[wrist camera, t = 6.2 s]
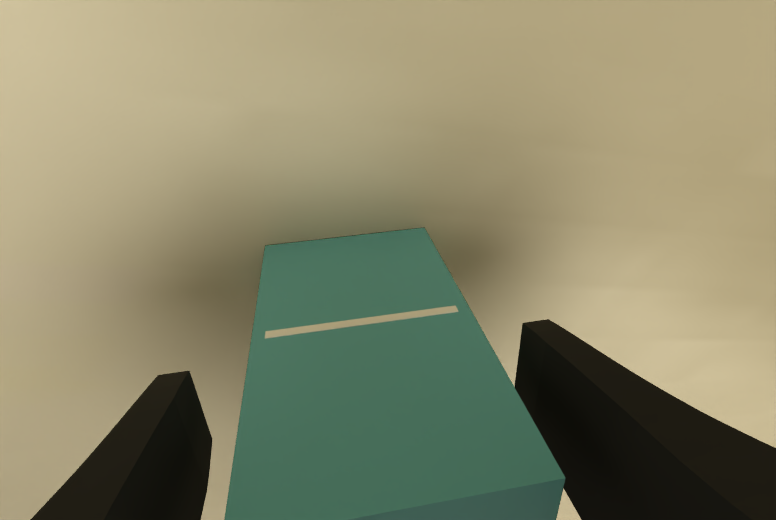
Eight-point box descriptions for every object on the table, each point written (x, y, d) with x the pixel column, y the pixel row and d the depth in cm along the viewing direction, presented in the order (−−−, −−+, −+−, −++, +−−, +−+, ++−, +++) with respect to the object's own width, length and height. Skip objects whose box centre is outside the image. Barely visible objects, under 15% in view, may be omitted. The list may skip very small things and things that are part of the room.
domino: (424, 270, 15) (551, 539, 8) (274, 289, 15) (244, 602, 7) (424, 226, 15) (565, 477, 7) (264, 244, 14) (220, 543, 6)
